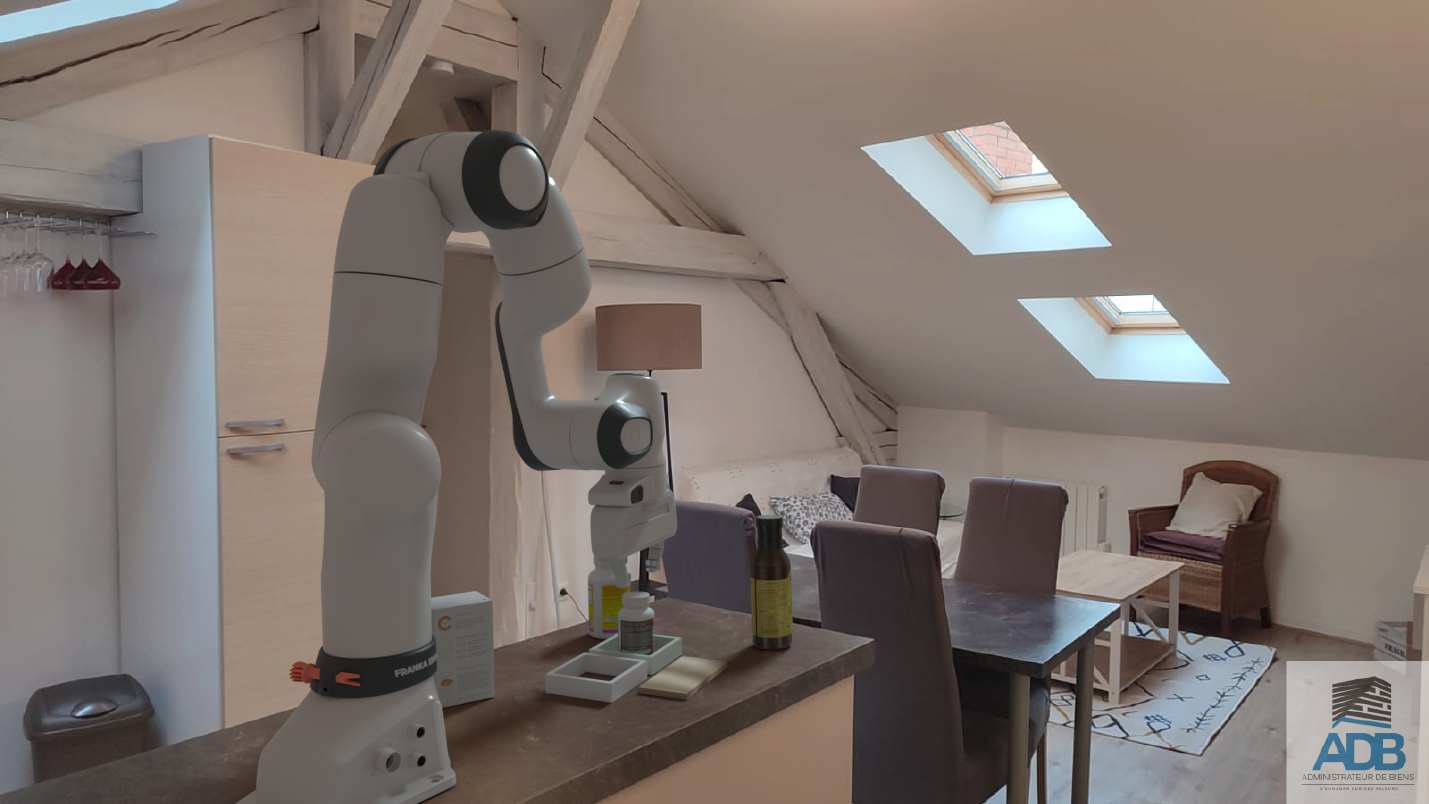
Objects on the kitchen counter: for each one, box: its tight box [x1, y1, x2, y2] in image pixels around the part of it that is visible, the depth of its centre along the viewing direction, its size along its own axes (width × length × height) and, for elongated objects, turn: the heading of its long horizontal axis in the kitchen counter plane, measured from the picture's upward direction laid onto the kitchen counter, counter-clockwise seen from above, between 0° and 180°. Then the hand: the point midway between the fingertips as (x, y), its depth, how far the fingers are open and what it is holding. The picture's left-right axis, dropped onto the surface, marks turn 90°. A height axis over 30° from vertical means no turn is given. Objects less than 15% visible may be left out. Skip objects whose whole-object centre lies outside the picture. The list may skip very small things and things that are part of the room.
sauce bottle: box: [750, 514, 794, 651], centre depth 148 cm, size 6×6×20 cm
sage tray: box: [588, 633, 683, 676], centre depth 141 cm, size 10×10×2 cm
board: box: [638, 655, 728, 701], centre depth 133 cm, size 14×7×1 cm, turn 157°
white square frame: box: [545, 652, 648, 704], centre depth 131 cm, size 10×10×2 cm
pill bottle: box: [618, 591, 656, 655], centre depth 141 cm, size 5×5×10 cm
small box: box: [431, 590, 496, 709], centre depth 127 cm, size 8×6×13 cm
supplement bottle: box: [587, 555, 631, 640], centre depth 154 cm, size 7×7×13 cm
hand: (638, 578), depth 141 cm, fingers open, 8 cm apart
